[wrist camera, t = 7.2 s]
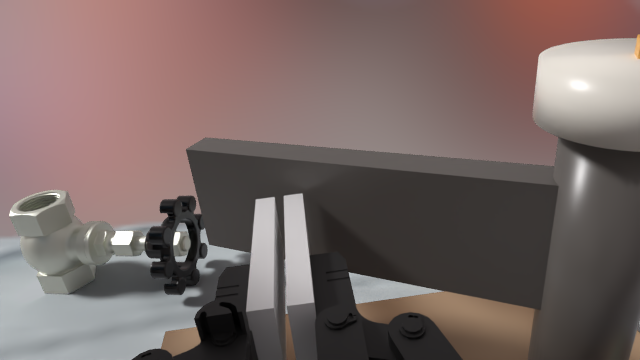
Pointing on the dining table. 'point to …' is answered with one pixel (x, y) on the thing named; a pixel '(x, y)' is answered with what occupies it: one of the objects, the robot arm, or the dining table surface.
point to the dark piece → (476, 207)
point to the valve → (104, 242)
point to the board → (450, 317)
